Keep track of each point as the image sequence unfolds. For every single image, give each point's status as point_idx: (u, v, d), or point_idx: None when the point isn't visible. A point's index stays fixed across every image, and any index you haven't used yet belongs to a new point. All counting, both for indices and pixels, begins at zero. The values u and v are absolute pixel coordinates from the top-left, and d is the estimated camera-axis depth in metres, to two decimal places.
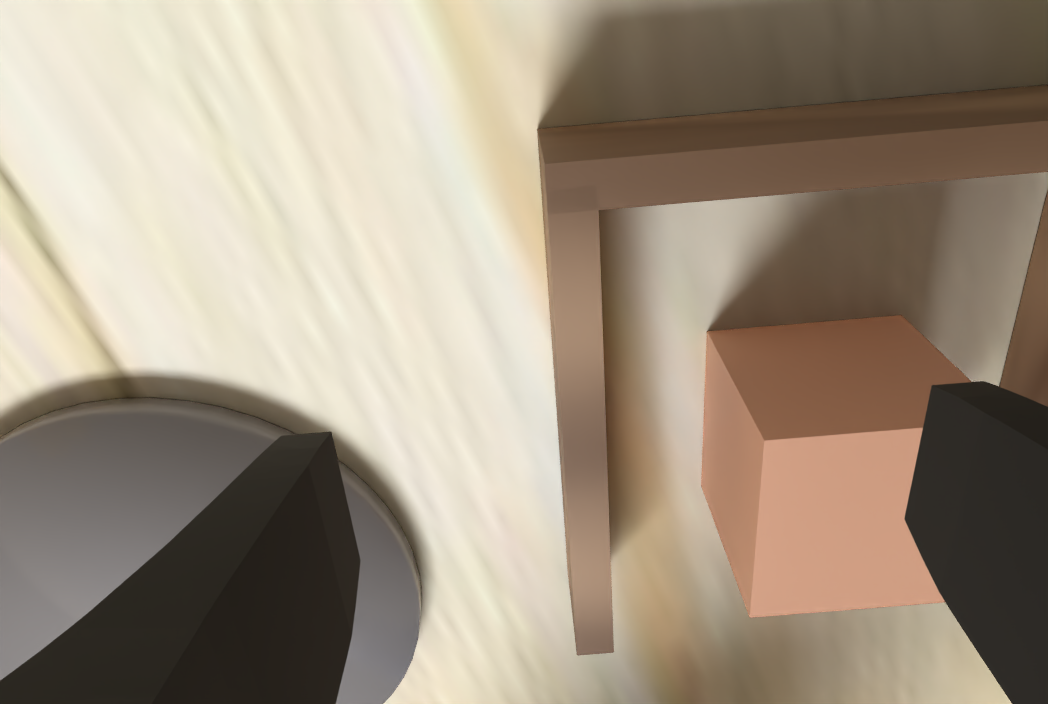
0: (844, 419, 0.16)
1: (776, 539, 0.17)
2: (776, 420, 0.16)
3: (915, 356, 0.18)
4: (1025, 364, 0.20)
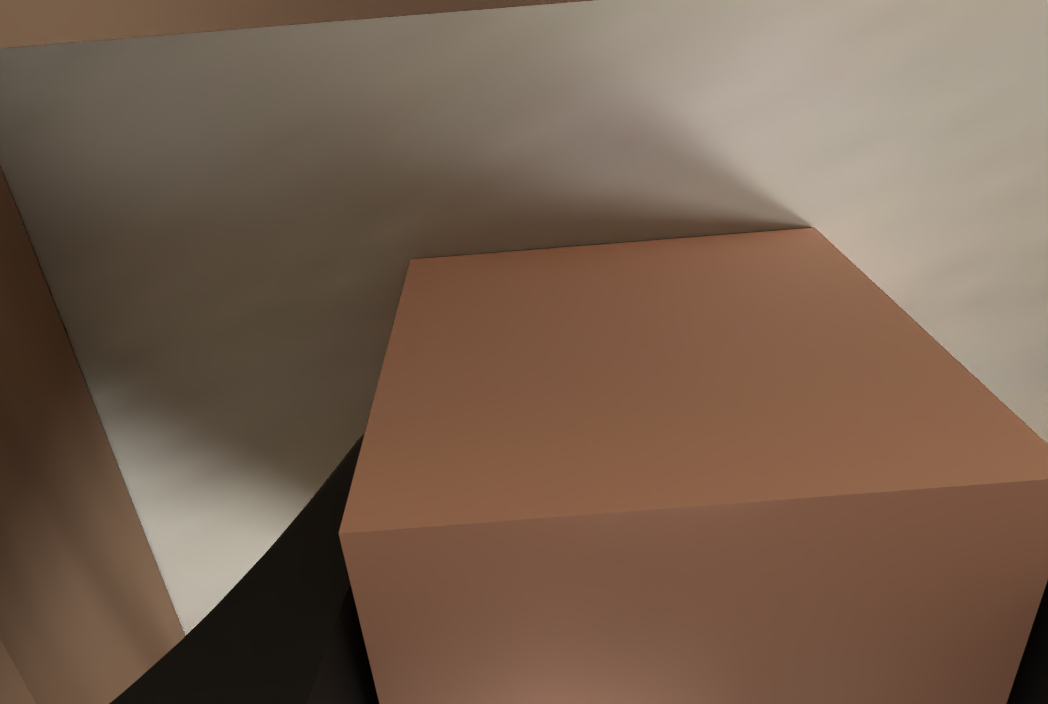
0: None
1: None
2: None
3: None
4: None
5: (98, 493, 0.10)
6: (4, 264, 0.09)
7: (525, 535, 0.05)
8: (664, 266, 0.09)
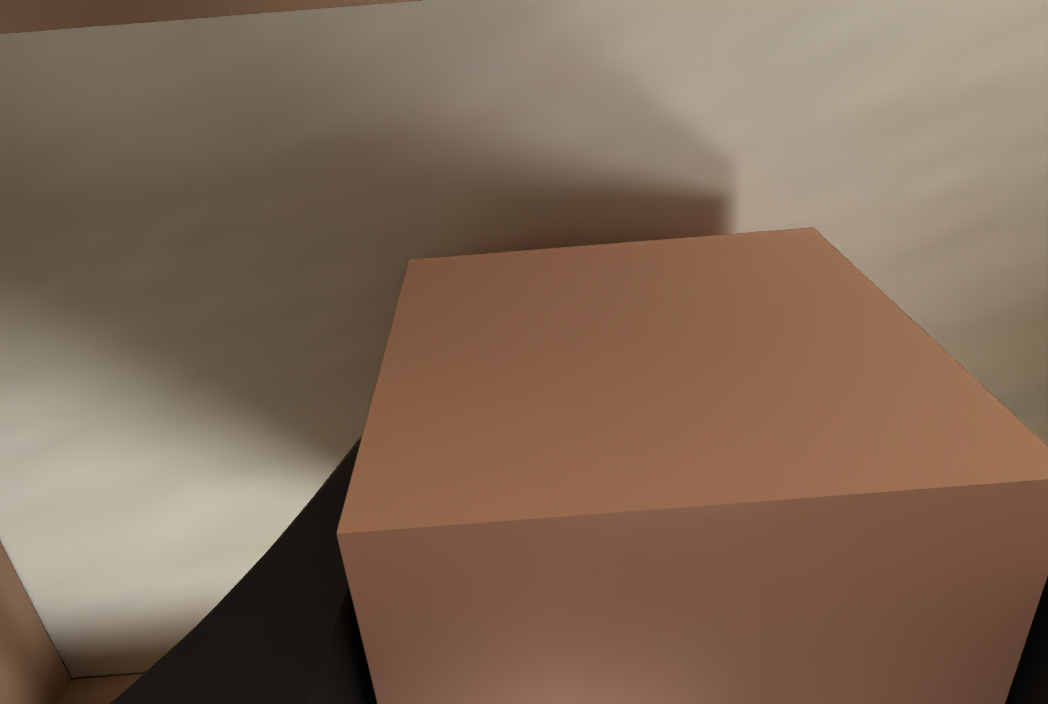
0: None
1: None
2: None
3: None
4: None
5: None
6: None
7: (522, 534, 0.05)
8: (663, 266, 0.09)
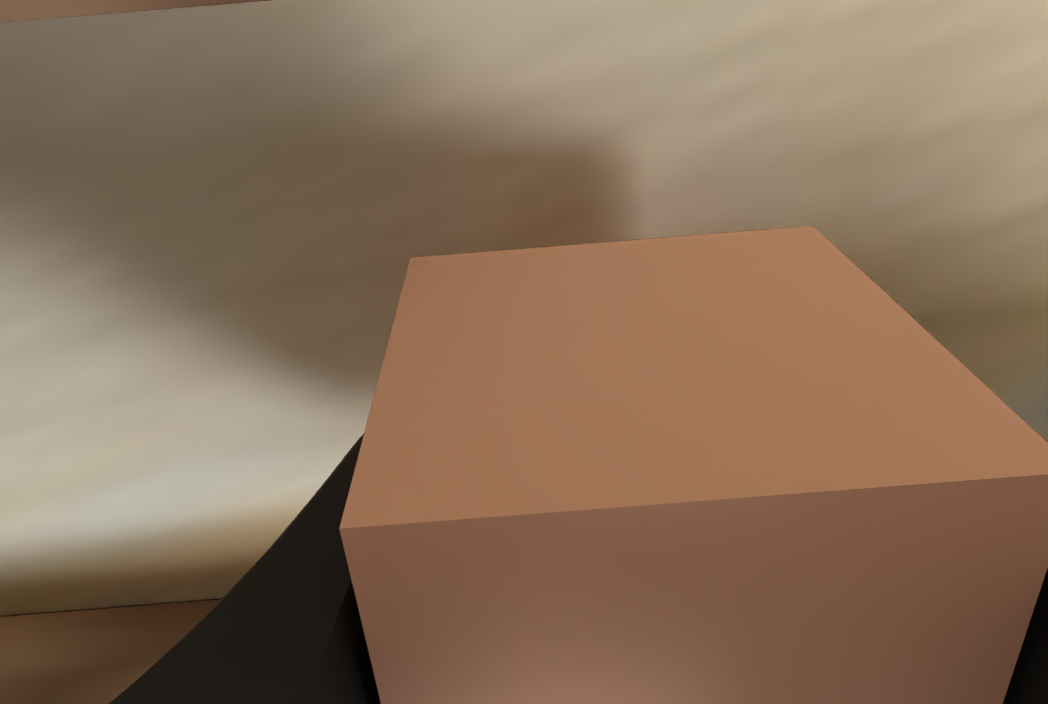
0: None
1: None
2: None
3: None
4: None
5: None
6: None
7: (524, 529, 0.05)
8: (663, 264, 0.09)
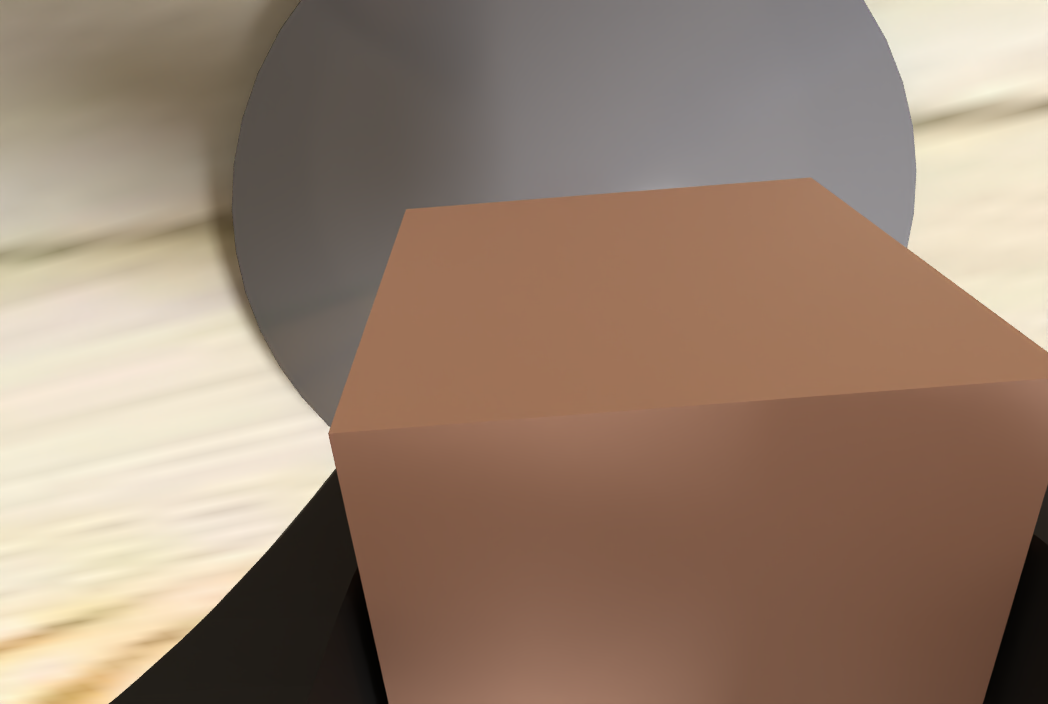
0: None
1: None
2: None
3: None
4: None
5: None
6: None
7: (516, 435, 0.05)
8: (660, 211, 0.09)
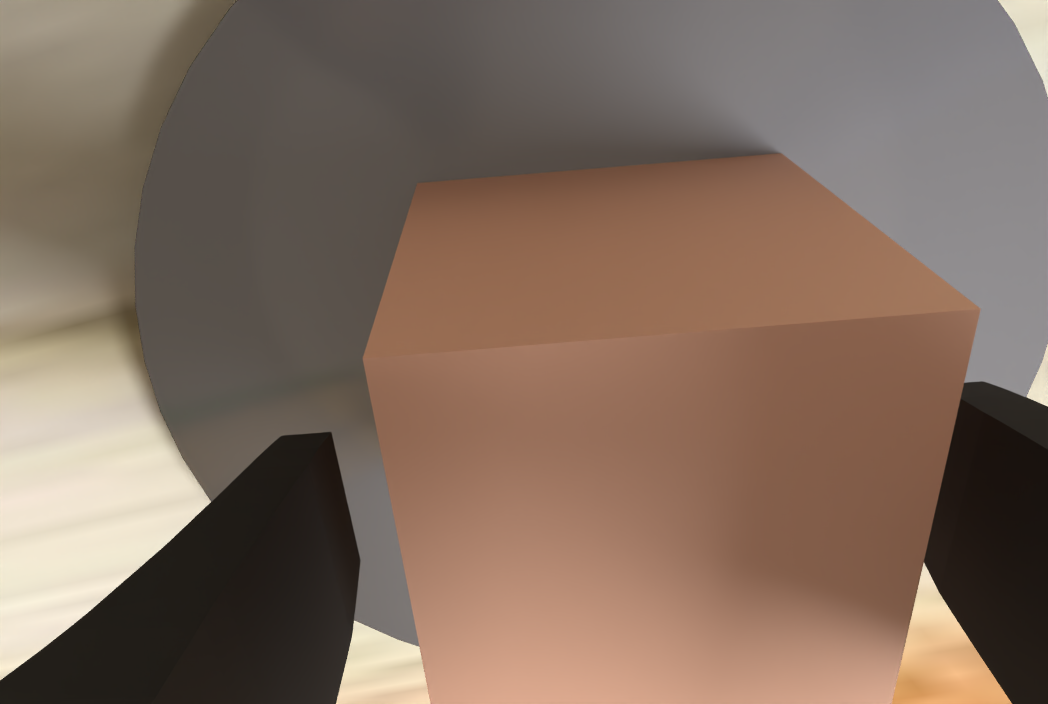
0: None
1: None
2: None
3: None
4: None
5: None
6: None
7: (516, 360, 0.06)
8: (645, 182, 0.10)
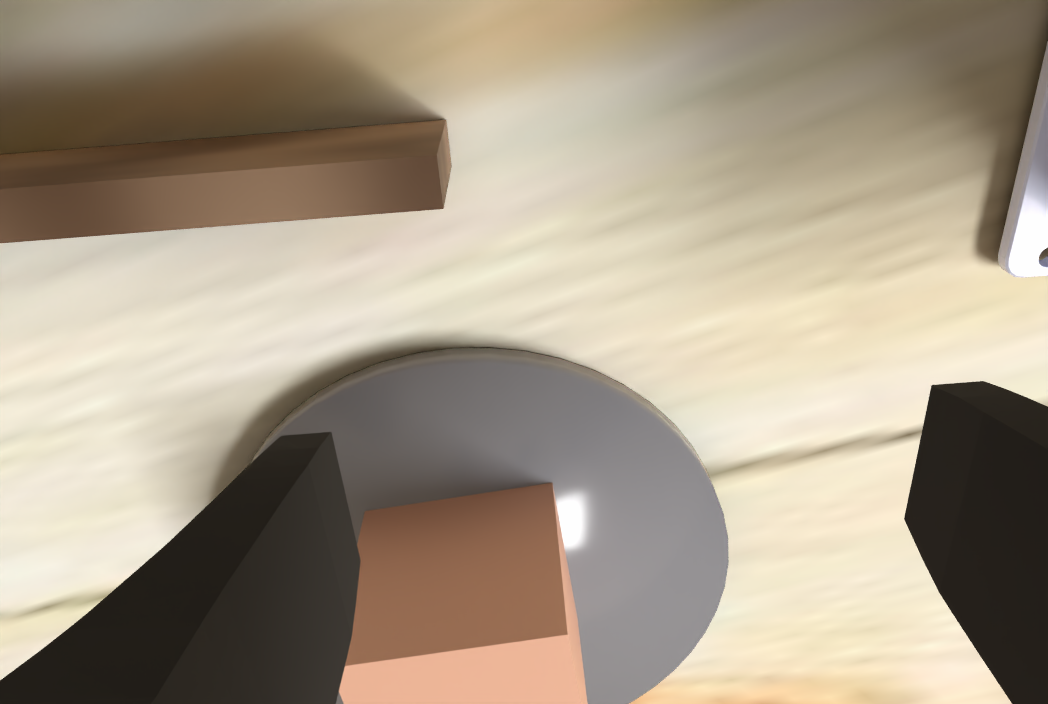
0: None
1: None
2: None
3: None
4: None
5: None
6: None
7: (389, 664, 0.16)
8: (475, 515, 0.20)
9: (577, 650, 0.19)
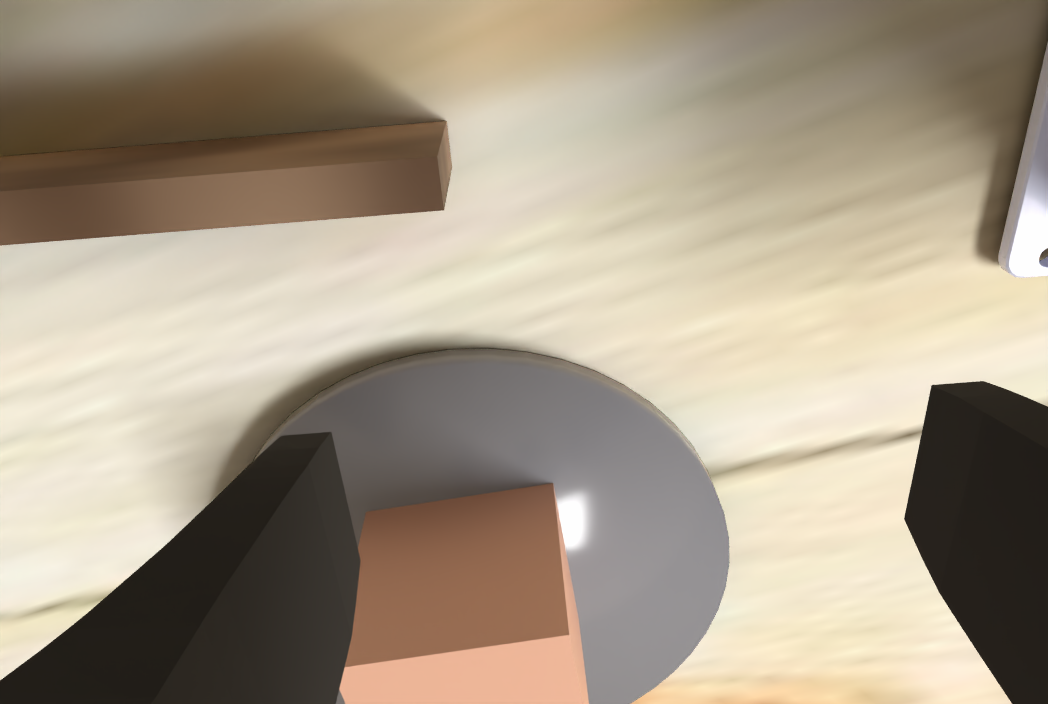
0: None
1: None
2: None
3: None
4: None
5: None
6: None
7: (391, 664, 0.16)
8: (476, 515, 0.20)
9: (578, 650, 0.19)
